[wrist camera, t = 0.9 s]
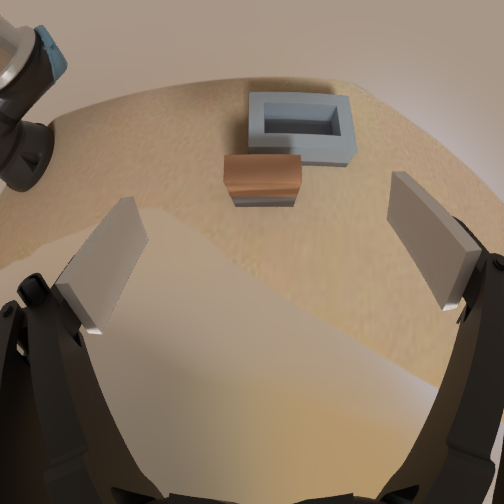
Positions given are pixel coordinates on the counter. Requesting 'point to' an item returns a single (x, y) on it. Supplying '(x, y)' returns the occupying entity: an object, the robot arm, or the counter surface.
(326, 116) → the frame block
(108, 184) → the counter surface
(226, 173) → the brown wood block
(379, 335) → the counter surface
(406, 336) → the counter surface
